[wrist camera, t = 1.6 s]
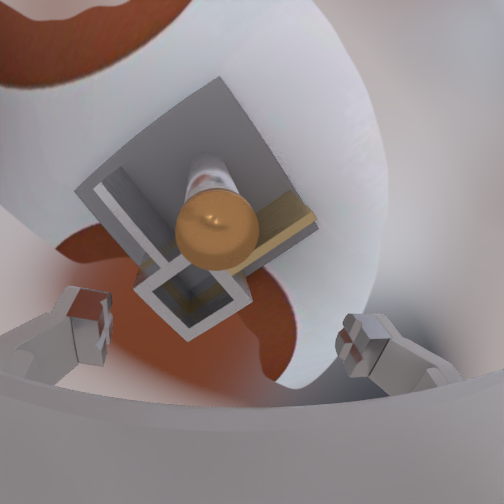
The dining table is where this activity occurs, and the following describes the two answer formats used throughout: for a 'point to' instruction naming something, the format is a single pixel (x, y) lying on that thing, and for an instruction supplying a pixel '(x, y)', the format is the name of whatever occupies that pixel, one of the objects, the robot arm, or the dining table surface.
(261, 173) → the base board
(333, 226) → the dining table surface
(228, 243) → the hinge pin
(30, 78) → the dining table surface
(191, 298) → the hinge
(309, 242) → the dining table surface
